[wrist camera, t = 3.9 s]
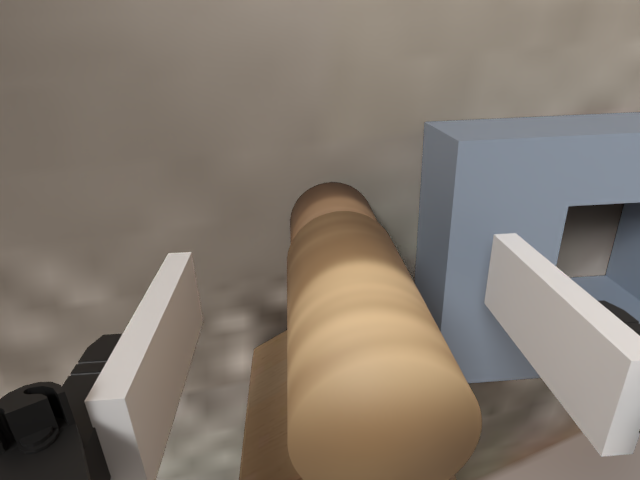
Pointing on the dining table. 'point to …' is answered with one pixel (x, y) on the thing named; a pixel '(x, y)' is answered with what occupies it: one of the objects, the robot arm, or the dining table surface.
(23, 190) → the dining table surface
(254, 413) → the decorative block
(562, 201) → the board
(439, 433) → the peg
